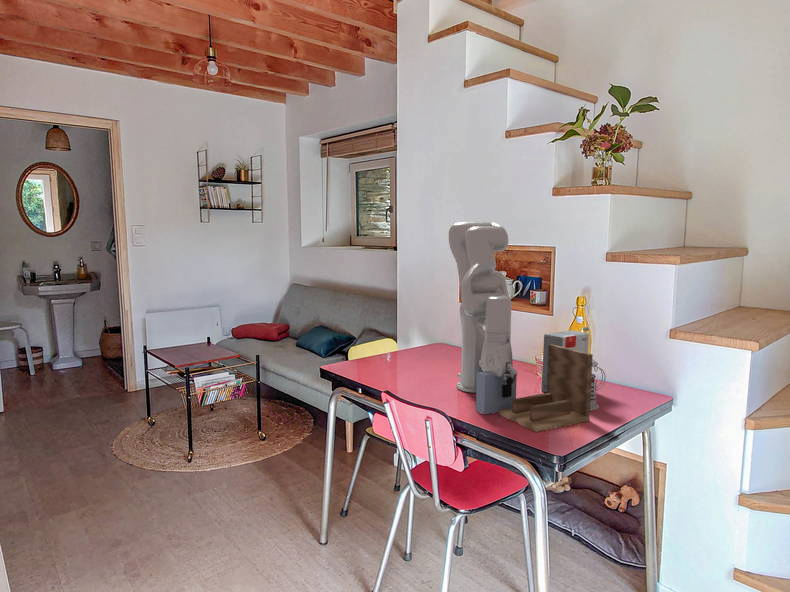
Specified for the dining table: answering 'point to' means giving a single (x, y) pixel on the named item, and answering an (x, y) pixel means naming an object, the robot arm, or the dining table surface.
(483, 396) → the book
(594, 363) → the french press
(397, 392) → the dining table surface
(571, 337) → the hard drive box
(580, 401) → the book rack
